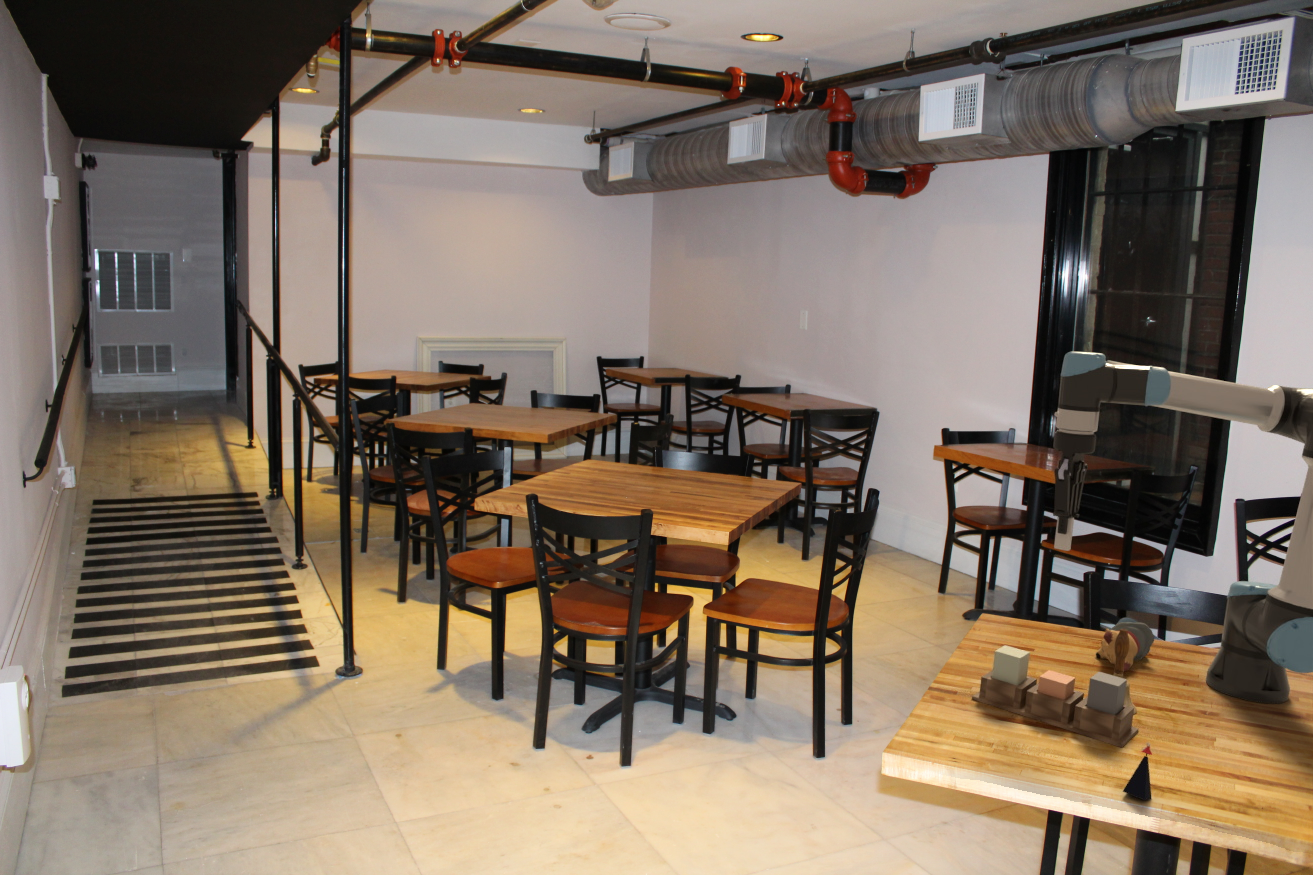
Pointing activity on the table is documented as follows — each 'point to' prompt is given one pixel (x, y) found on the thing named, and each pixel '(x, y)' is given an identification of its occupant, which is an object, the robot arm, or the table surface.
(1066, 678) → the terracotta button
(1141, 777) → the figurine
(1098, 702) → the grey square block
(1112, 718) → the wooden base
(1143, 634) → the figurine
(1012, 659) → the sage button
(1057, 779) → the table surface
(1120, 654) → the hand bell
